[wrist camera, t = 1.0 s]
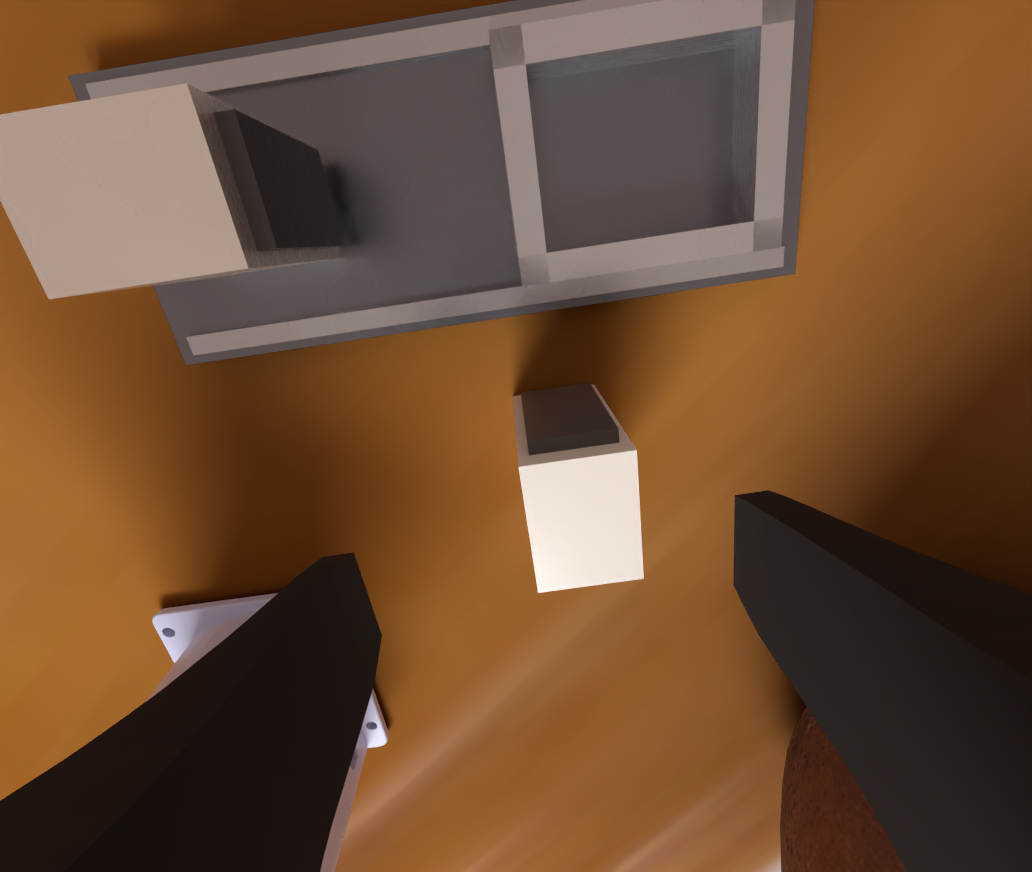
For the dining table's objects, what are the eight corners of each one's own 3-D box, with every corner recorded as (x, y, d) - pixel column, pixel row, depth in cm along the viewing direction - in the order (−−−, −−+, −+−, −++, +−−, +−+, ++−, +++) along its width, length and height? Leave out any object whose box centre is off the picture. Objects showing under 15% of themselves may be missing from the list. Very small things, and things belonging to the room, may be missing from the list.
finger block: (527, 491, 19) (538, 592, 14) (511, 385, 18) (516, 452, 12) (602, 480, 19) (643, 578, 14) (592, 373, 18) (636, 435, 12)
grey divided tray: (778, 272, 16) (959, 292, 10) (202, 358, 17) (18, 431, 10) (796, -31, 13) (1073, -286, 7) (96, 87, 14) (-257, -47, 7)
